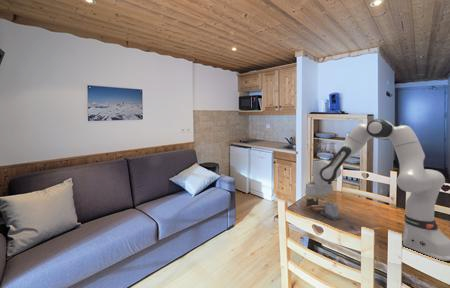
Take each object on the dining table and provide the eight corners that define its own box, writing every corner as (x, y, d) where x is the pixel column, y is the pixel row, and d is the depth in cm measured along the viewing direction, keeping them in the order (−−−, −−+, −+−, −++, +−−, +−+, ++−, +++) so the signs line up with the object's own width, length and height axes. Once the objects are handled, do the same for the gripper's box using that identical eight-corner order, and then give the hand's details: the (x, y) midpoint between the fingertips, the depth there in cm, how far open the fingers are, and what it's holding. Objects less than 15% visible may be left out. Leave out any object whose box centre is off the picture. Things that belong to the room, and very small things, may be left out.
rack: (327, 211, 155) (327, 202, 155) (316, 212, 153) (316, 204, 153) (317, 205, 167) (317, 197, 167) (306, 207, 165) (306, 198, 165)
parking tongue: (341, 219, 141) (341, 217, 141) (331, 220, 140) (331, 218, 140) (328, 212, 153) (328, 210, 153) (319, 213, 152) (319, 211, 151)
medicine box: (338, 218, 143) (338, 205, 143) (332, 219, 142) (332, 205, 142) (330, 213, 151) (330, 201, 150) (324, 214, 150) (324, 202, 149)
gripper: (308, 183, 151) (308, 203, 152) (334, 181, 156) (334, 200, 156) (303, 181, 157) (303, 200, 158) (328, 179, 162) (328, 198, 163)
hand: (318, 200), depth 157 cm, fingers open, 4 cm apart
